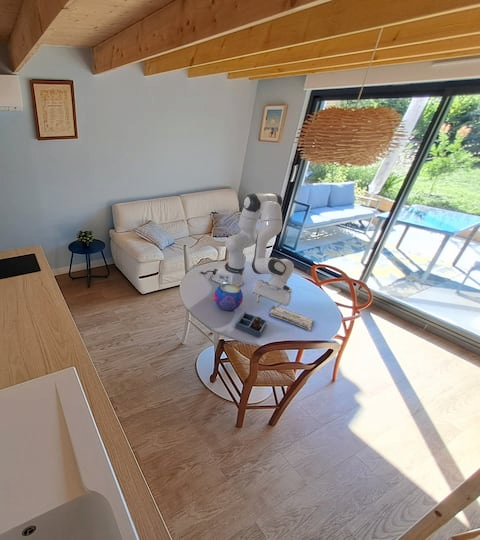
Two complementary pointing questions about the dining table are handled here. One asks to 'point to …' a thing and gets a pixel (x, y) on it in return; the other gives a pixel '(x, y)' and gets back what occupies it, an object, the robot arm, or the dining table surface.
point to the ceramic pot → (228, 296)
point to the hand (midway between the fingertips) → (265, 305)
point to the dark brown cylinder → (257, 323)
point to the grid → (250, 324)
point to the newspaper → (292, 317)
